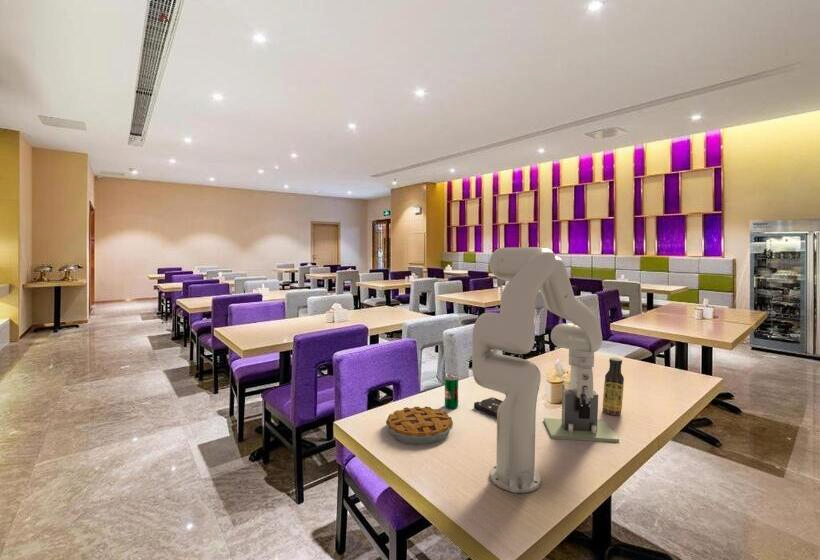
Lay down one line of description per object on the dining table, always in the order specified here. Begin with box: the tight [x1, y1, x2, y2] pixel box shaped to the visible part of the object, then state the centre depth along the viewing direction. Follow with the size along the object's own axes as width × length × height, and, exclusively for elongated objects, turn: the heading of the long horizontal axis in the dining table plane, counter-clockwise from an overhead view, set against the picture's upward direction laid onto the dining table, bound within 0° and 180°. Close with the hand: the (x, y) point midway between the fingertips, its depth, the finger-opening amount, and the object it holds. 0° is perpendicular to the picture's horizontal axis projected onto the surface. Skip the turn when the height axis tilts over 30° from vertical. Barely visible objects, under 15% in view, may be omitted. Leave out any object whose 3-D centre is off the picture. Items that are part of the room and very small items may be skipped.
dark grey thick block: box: [561, 388, 599, 432], centre depth 130 cm, size 4×10×12 cm, turn 82°
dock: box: [543, 417, 620, 443], centre depth 131 cm, size 13×20×4 cm, turn 82°
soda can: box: [444, 373, 459, 410], centre depth 151 cm, size 5×5×12 cm
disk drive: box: [473, 397, 504, 420], centre depth 147 cm, size 10×3×15 cm
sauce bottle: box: [602, 357, 625, 416], centre depth 145 cm, size 7×6×20 cm
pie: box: [385, 406, 454, 445], centre depth 132 cm, size 22×22×5 cm
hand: (579, 412), depth 131 cm, fingers open, 9 cm apart
